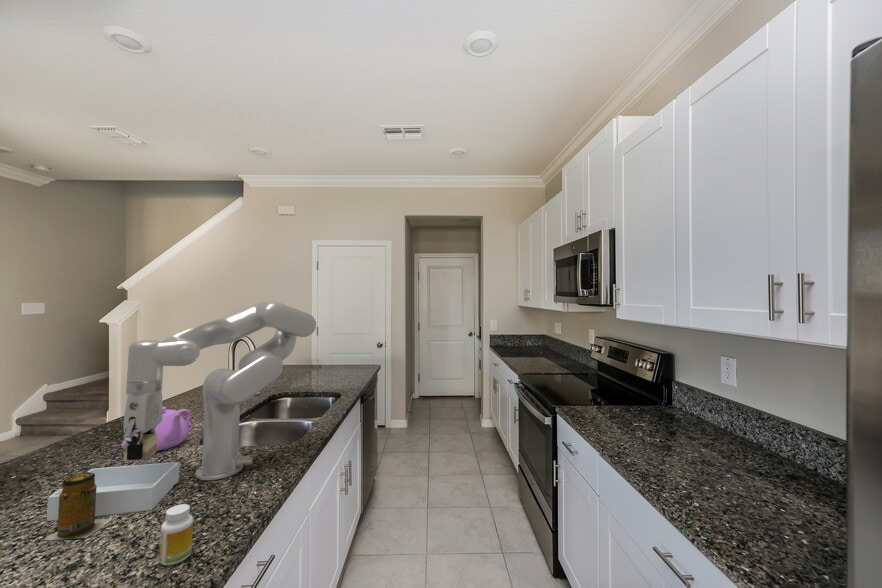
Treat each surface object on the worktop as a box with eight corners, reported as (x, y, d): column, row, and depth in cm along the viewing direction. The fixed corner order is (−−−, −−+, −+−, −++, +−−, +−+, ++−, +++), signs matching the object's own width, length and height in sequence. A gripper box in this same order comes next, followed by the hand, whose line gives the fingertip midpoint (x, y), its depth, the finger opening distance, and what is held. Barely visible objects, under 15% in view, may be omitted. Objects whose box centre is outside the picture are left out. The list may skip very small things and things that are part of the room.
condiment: (74, 521, 85) (77, 469, 86) (112, 519, 86) (115, 469, 87) (43, 541, 78) (46, 485, 79) (85, 539, 79) (88, 484, 79)
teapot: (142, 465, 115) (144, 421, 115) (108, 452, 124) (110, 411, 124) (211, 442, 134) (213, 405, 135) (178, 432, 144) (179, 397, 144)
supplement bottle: (198, 550, 76) (200, 504, 76) (173, 568, 71) (175, 518, 71) (178, 546, 77) (180, 500, 78) (152, 563, 72) (154, 514, 72)
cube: (156, 452, 99) (157, 433, 100) (146, 459, 95) (147, 440, 95) (134, 453, 98) (135, 434, 98) (123, 461, 93) (125, 441, 93)
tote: (178, 481, 105) (179, 461, 105) (151, 510, 90) (152, 487, 91) (90, 489, 100) (91, 468, 100) (46, 521, 85) (48, 497, 85)
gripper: (143, 393, 90) (139, 467, 89) (175, 380, 106) (171, 442, 105) (107, 394, 88) (102, 470, 87) (145, 380, 104) (141, 444, 104)
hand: (140, 454), depth 96 cm, fingers closed on cube, 5 cm apart
